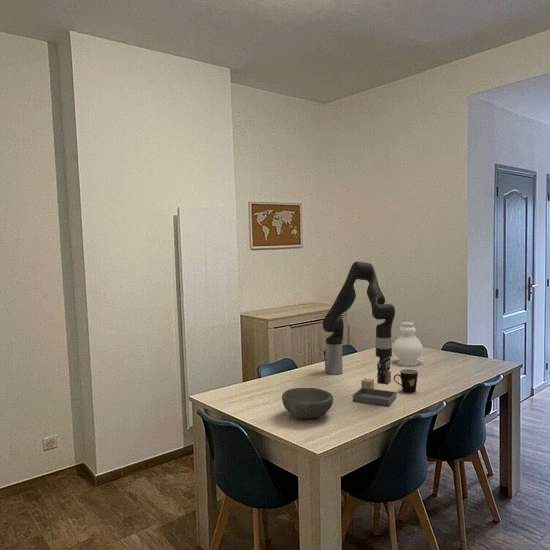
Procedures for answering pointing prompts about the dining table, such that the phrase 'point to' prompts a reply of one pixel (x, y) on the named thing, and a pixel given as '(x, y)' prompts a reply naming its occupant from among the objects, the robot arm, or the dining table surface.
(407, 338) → the decorative vase
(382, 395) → the charcoal tray
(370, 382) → the terracotta block
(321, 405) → the bowl
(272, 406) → the dining table surface
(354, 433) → the dining table surface
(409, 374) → the coffee mug
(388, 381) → the walnut block
